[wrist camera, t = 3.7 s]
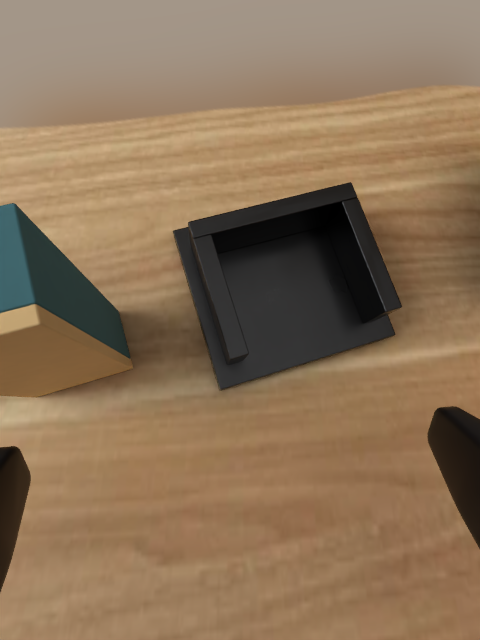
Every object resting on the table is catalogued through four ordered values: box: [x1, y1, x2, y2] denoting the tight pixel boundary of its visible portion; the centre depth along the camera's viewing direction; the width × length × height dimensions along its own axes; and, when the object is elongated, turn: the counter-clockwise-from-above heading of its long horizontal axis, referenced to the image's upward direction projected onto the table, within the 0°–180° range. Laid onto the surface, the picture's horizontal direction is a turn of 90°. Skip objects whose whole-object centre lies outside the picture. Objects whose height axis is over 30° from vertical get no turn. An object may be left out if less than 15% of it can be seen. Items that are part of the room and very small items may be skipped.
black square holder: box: [173, 182, 402, 391], centre depth 22 cm, size 10×11×4 cm
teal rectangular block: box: [0, 203, 133, 397], centre depth 16 cm, size 4×6×12 cm, turn 108°
